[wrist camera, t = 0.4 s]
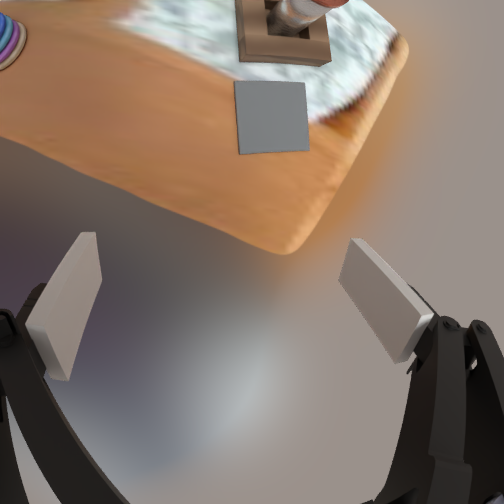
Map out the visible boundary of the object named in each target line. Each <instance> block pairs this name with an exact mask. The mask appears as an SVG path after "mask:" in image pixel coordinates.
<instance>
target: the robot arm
mask: <svg viewBox="0 0 504 504" xmlns="http://www.w3.org/2000/svg"><path fill="white" fill-rule="evenodd" d="M101 282H102V275H101V269H100V263H99V256H98V249H97V241H96V233H95V232H81V233H80V235H79V236H78V238H77V239H76V241H75V242H74V243H73V245H72V247H71V248H70V249H69V251H68V252H67V254H66V255H65V257H64V258H63V260H62V261H61V263H60V264H59V266H58V268H57V269H56V271H55V272H54V274H53V275H52V277H51V279H50V281H49V282H48V284H45V283H40V284H39V285H38V286H37V287H35V288H34V289H33V290H32V291H31V293H30V294H29V296H28V298H27V300H26V301H25V303H24V304H23V306H22V308H21V310H20V312H19V313H18V315H17V317H16V318H14V316H13V314H12V313H11V311H10V310H7V309H0V504H29V502H28V499H27V496H26V493H25V490H24V486H23V483H22V480H21V476H20V472H19V469H18V465H17V461H16V456H15V452H14V447H13V442H12V438H11V432H10V426H9V419H8V412H7V404H6V396H7V398H8V401H9V404H10V406H11V409H12V411H13V414H14V416H15V419H16V421H17V423H18V426H19V428H20V430H21V433H22V434H23V437H24V439H25V441H26V443H27V445H28V447H29V449H30V451H31V453H32V455H33V457H34V459H35V461H36V463H37V464H38V466H39V468H40V470H41V472H42V473H43V475H44V477H45V478H46V480H47V482H48V483H49V485H50V487H51V488H52V490H53V492H54V493H55V495H56V496H57V498H58V499H59V501H60V502H61V503H62V504H130V503H129V502H128V501H127V500H126V499H125V497H124V496H123V495H122V494H121V493H120V492H119V491H118V489H117V488H116V487H115V486H114V485H113V484H112V482H111V481H110V480H109V479H108V478H107V476H106V475H105V474H104V472H103V471H102V470H101V469H100V467H99V466H98V465H97V463H96V462H95V461H94V459H93V458H92V457H91V455H90V454H89V452H88V451H87V450H86V448H85V447H84V445H83V444H82V442H81V441H80V439H79V438H78V436H77V435H76V433H75V432H74V430H73V429H72V427H71V426H70V424H69V422H68V421H67V419H66V417H65V416H64V414H63V412H62V411H61V409H60V407H59V405H58V403H57V402H56V400H55V398H54V396H53V394H52V393H51V391H50V389H49V387H48V385H47V383H46V381H45V379H44V378H43V376H44V374H45V370H47V371H48V373H49V375H50V377H51V379H58V380H64V381H69V377H70V374H71V370H72V367H73V363H74V360H75V356H76V353H77V350H78V347H79V344H80V340H81V337H82V334H83V331H84V328H85V325H86V322H87V320H88V317H89V314H90V311H91V308H92V306H93V303H94V300H95V298H96V295H97V292H98V290H99V287H100V285H101ZM339 282H340V284H341V285H342V286H343V288H344V289H345V291H346V292H347V293H348V295H349V296H350V298H351V299H352V301H353V302H354V303H355V305H356V307H357V308H358V309H359V311H360V312H361V314H362V315H363V317H364V318H365V320H366V321H367V323H368V324H369V325H370V327H371V328H372V330H373V331H374V333H375V334H376V336H377V337H378V339H379V340H380V342H381V343H382V345H383V346H384V348H385V350H386V351H387V353H388V354H389V356H390V357H391V359H392V360H393V362H394V363H395V364H396V363H400V362H404V361H407V360H408V359H409V357H410V355H411V354H412V352H413V351H414V352H415V354H416V355H417V357H416V358H415V360H414V362H413V363H412V365H411V366H410V367H409V369H408V371H407V374H408V373H409V372H410V371H411V370H412V374H411V382H410V388H409V393H408V399H407V404H406V409H405V414H404V418H403V423H402V428H401V432H400V435H399V439H398V443H397V447H396V451H395V454H394V458H393V461H392V465H391V468H390V471H389V475H388V478H387V481H386V483H385V486H384V488H383V489H382V491H381V492H380V493H379V494H378V496H377V497H376V499H375V501H374V502H373V500H370V501H367V502H365V503H362V504H504V357H503V355H502V353H501V350H500V348H499V346H498V344H497V341H496V339H495V337H494V335H493V333H492V331H491V329H490V328H489V326H488V325H487V324H486V323H484V322H483V321H480V320H473V321H472V322H471V324H470V326H469V328H462V327H461V326H460V325H459V323H458V322H457V321H455V320H454V319H452V318H450V317H447V316H441V317H440V316H439V315H438V314H437V313H436V312H435V311H434V310H433V308H432V307H431V306H430V305H429V304H428V303H427V302H426V301H424V299H423V298H422V296H420V295H419V293H418V292H417V291H416V290H415V289H414V288H413V287H411V286H410V285H409V284H407V283H405V281H404V280H403V279H402V278H401V277H400V276H399V275H398V274H397V273H396V272H395V271H394V270H393V269H392V268H391V267H390V266H389V265H388V264H387V263H386V262H385V261H384V260H383V259H382V258H381V257H380V256H379V255H378V254H377V253H376V252H375V251H374V250H373V249H372V248H371V247H370V246H369V245H368V244H367V243H366V242H365V241H364V240H363V239H358V238H351V239H350V242H349V246H348V249H347V253H346V256H345V260H344V264H343V267H342V270H341V273H340V277H339ZM476 359H477V365H476V367H475V368H474V369H472V367H471V365H472V364H473V362H474V361H475V360H476Z"/></svg>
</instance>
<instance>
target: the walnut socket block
mask: <svg viewBox="0 0 504 504" xmlns="http://www.w3.org/2000/svg"><path fill="white" fill-rule="evenodd" d="M279 1H280V0H235V8H236V21H237V35H238V48H239V61H240V62H265V63H285V64H298V65H309V66H318V67H320V66H322V65H324V64H326V63H329V62H331V61H332V60H331V52H330V44H329V37H328V30H327V23H326V17H325V14H324V15H322V16H321V17H320V18H318V19H317V20H315V21H314V22H313V23H311V24H310V25H308V26H307V27H306V28H304V29H303V30H302V31H300V32H299V33H298V34H296V35H295V36H294V37H283V36H271V35H268V32H267V22H266V15H267V14H268V13H269V12H270V11H271V10H272V9H273V7H274V6H275V5H276V4H277V3H278V2H279Z"/></svg>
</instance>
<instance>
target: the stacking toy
mask: <svg viewBox="0 0 504 504" xmlns="http://www.w3.org/2000/svg"><path fill="white" fill-rule="evenodd" d="M25 41H26V28H25V27H24V25H23V24H22V23H20V22H16V21H15V20H12V19H11V18H10V17H9V16H7V15H3V14H2V13H1V12H0V70H2V69H4V68H5V67H7V66H8V65H10V64H11V63H12V62H13V61H14V60H15V59H16V58H17V56H18V55H19V54H20V52H21V50H22V48H23V46H24V44H25Z"/></svg>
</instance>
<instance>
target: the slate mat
mask: <svg viewBox="0 0 504 504" xmlns="http://www.w3.org/2000/svg"><path fill="white" fill-rule="evenodd" d="M234 94H235V107H236V121H237V134H238V147H239V154H250V153H265V152H283V151H309V150H310V148H309V131H308V116H307V102H306V90H305V83H301V82H282V81H234Z"/></svg>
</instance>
